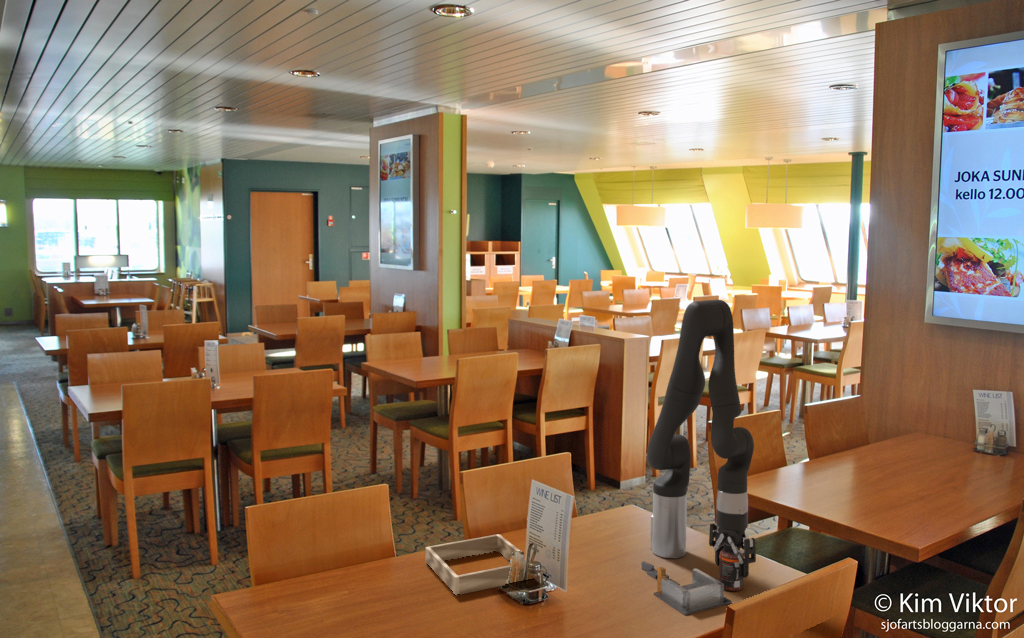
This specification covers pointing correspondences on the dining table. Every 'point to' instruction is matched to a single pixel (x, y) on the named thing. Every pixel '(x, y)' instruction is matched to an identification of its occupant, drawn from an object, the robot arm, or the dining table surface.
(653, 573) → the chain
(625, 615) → the dining table surface
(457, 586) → the frame
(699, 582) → the keeper
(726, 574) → the supplement bottle
